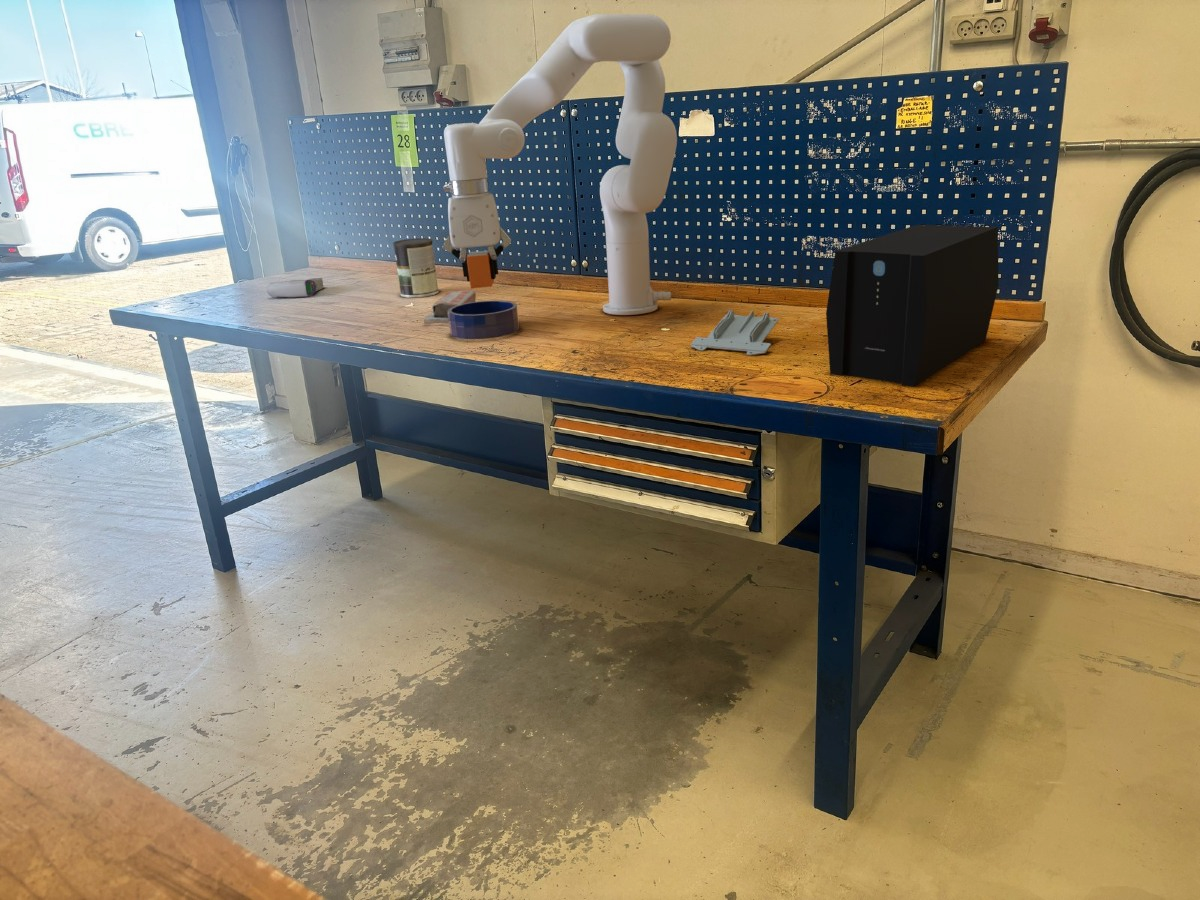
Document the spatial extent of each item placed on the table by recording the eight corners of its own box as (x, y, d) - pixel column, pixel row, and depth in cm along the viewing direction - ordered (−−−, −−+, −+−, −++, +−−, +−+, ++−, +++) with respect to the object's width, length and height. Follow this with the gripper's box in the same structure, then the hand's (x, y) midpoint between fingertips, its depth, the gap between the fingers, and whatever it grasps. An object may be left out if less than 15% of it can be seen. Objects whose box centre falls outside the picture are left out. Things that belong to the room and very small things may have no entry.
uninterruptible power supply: (823, 372, 141) (828, 250, 134) (906, 329, 164) (914, 223, 157) (921, 387, 131) (932, 256, 124) (995, 339, 154) (1008, 225, 147)
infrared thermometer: (327, 290, 249) (310, 297, 235) (287, 292, 249) (267, 299, 235) (325, 274, 248) (307, 280, 233) (284, 276, 248) (264, 282, 234)
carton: (494, 282, 181) (490, 250, 179) (491, 286, 177) (487, 254, 174) (473, 283, 181) (469, 252, 179) (470, 288, 177) (466, 255, 174)
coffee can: (394, 298, 226) (386, 244, 221) (408, 290, 235) (400, 238, 230) (432, 297, 224) (424, 242, 219) (444, 289, 234) (437, 237, 229)
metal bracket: (717, 303, 168) (790, 308, 160) (720, 329, 171) (792, 335, 164) (686, 340, 159) (762, 346, 151) (690, 366, 162) (765, 374, 155)
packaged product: (442, 289, 207) (482, 287, 206) (445, 309, 209) (484, 307, 208) (420, 304, 191) (464, 303, 189) (423, 325, 192) (466, 324, 191)
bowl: (521, 323, 189) (519, 298, 187) (516, 339, 176) (514, 312, 174) (456, 327, 189) (452, 302, 187) (446, 343, 176) (443, 317, 174)
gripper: (425, 193, 168) (439, 285, 175) (510, 186, 168) (520, 279, 175) (431, 190, 175) (444, 279, 182) (513, 183, 175) (522, 272, 182)
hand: (481, 278), depth 178 cm, fingers closed on carton, 4 cm apart
